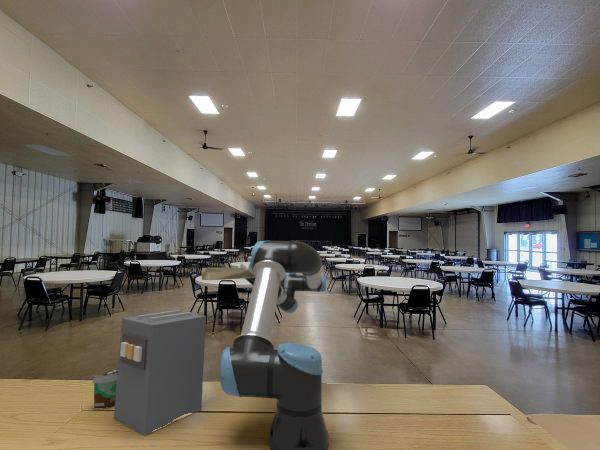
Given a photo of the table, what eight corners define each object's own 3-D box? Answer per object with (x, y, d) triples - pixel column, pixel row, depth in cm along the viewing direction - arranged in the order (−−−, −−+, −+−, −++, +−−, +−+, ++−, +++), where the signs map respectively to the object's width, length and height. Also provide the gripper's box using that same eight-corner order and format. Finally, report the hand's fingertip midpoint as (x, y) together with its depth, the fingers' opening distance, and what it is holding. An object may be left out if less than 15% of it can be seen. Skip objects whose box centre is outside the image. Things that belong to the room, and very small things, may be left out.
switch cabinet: (201, 409, 96) (206, 313, 99) (139, 438, 80) (148, 322, 83) (169, 396, 105) (175, 308, 108) (108, 420, 89) (117, 315, 92)
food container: (107, 413, 93) (110, 377, 94) (89, 410, 94) (92, 376, 95) (136, 396, 105) (138, 364, 106) (120, 394, 106) (123, 363, 107)
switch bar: (260, 277, 128) (260, 267, 128) (209, 280, 106) (210, 268, 107) (252, 277, 130) (253, 267, 130) (201, 279, 108) (202, 268, 109)
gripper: (287, 302, 132) (256, 275, 116) (257, 299, 141) (224, 273, 126) (293, 286, 135) (263, 257, 120) (263, 283, 145) (232, 257, 130)
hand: (243, 266), depth 123 cm, fingers closed on switch bar, 4 cm apart
